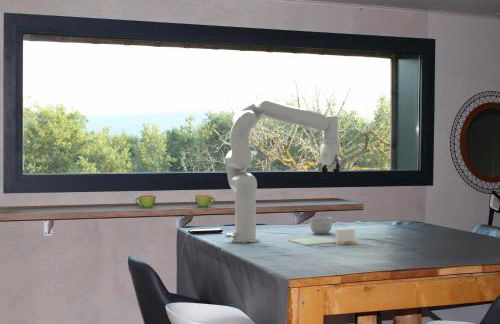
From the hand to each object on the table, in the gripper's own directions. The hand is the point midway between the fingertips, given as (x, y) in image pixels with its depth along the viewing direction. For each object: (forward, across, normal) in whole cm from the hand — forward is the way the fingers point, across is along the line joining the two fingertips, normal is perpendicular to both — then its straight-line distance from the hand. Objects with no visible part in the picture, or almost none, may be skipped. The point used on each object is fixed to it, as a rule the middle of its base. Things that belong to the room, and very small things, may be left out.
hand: (330, 176), depth 325 cm
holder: (+29, +23, -8) cm, 38 cm away
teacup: (+29, -11, +2) cm, 31 cm away
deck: (+29, +23, -8) cm, 38 cm away
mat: (+29, +11, -17) cm, 35 cm away
